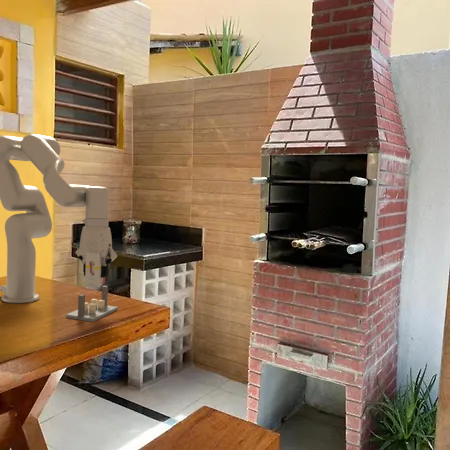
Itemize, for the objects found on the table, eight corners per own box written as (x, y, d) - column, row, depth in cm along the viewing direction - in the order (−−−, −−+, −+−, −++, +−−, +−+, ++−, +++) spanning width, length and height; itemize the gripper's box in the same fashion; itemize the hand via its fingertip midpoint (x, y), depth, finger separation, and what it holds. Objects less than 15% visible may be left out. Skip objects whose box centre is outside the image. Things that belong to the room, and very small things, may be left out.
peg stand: (66, 317, 152) (67, 293, 151) (92, 305, 167) (93, 284, 166) (93, 321, 149) (94, 297, 148) (117, 309, 165) (118, 287, 164)
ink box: (91, 281, 161) (92, 248, 160) (105, 282, 161) (106, 248, 160) (84, 287, 153) (85, 251, 152) (98, 287, 153) (100, 252, 152)
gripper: (68, 222, 154) (66, 275, 156) (114, 225, 149) (112, 280, 151) (80, 220, 161) (79, 271, 163) (125, 224, 157) (123, 276, 158)
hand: (95, 275), depth 157 cm, fingers closed on ink box, 5 cm apart
